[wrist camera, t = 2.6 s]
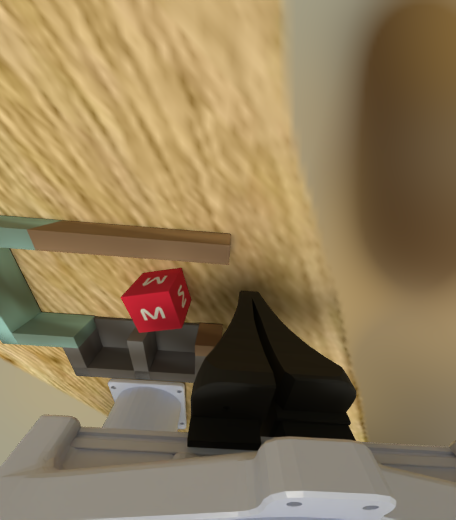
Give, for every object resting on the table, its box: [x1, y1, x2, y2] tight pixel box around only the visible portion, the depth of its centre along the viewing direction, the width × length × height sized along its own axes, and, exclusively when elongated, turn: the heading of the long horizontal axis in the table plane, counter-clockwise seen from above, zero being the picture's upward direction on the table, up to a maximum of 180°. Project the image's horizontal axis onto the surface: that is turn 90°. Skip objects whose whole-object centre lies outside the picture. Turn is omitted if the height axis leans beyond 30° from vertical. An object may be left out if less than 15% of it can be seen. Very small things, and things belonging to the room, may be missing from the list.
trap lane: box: [0, 215, 230, 383], centre depth 13 cm, size 13×17×2 cm
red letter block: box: [121, 268, 191, 333], centre depth 12 cm, size 3×3×3 cm
